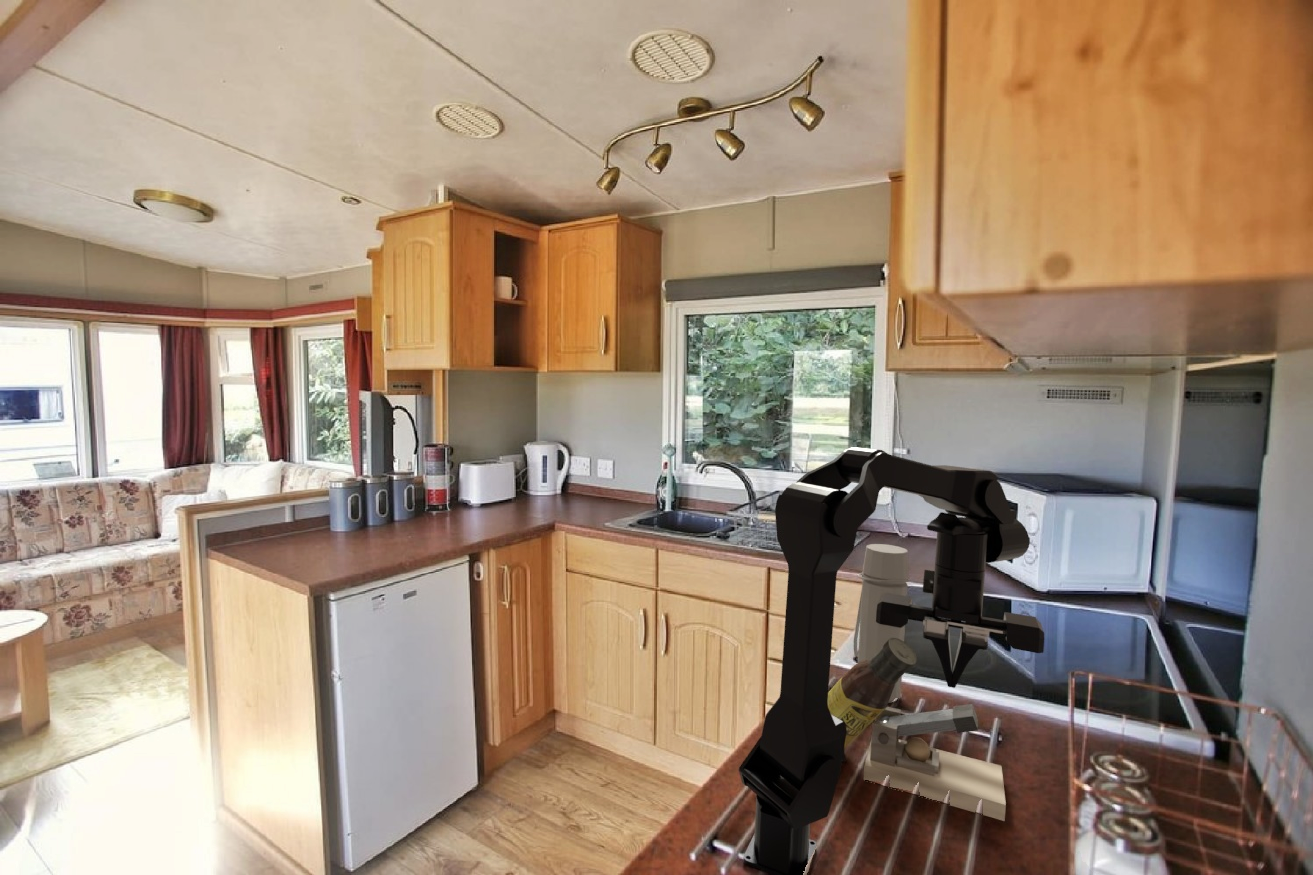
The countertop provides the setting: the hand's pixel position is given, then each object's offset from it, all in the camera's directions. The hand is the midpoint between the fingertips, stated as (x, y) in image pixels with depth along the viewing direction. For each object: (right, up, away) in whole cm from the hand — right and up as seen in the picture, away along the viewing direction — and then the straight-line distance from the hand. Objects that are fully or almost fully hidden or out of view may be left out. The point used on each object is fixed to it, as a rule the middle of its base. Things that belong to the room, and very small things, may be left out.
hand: (951, 686), depth 79 cm
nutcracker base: (-2, -13, +1) cm, 13 cm away
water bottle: (-1, -12, +26) cm, 28 cm away
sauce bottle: (-15, -11, +8) cm, 20 cm away
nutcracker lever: (-2, -6, +1) cm, 7 cm away
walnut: (-3, -9, +2) cm, 10 cm away
